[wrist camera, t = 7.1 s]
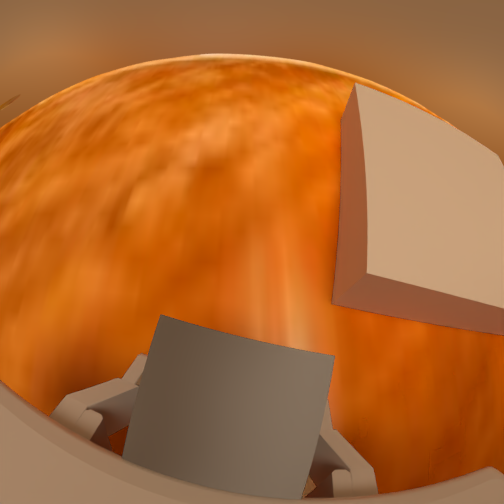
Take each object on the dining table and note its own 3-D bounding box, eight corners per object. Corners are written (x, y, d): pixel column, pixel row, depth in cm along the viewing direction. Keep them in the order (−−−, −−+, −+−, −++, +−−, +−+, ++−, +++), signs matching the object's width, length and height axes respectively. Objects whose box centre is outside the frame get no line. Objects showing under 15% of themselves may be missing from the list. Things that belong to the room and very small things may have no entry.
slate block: (269, 373, 15) (334, 355, 6) (253, 438, 13) (296, 512, 4) (199, 356, 15) (160, 314, 6) (182, 421, 13) (118, 472, 4)
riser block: (477, 179, 26) (498, 155, 21) (508, 336, 16) (545, 319, 12) (340, 120, 26) (354, 82, 22) (331, 303, 17) (366, 272, 12)
